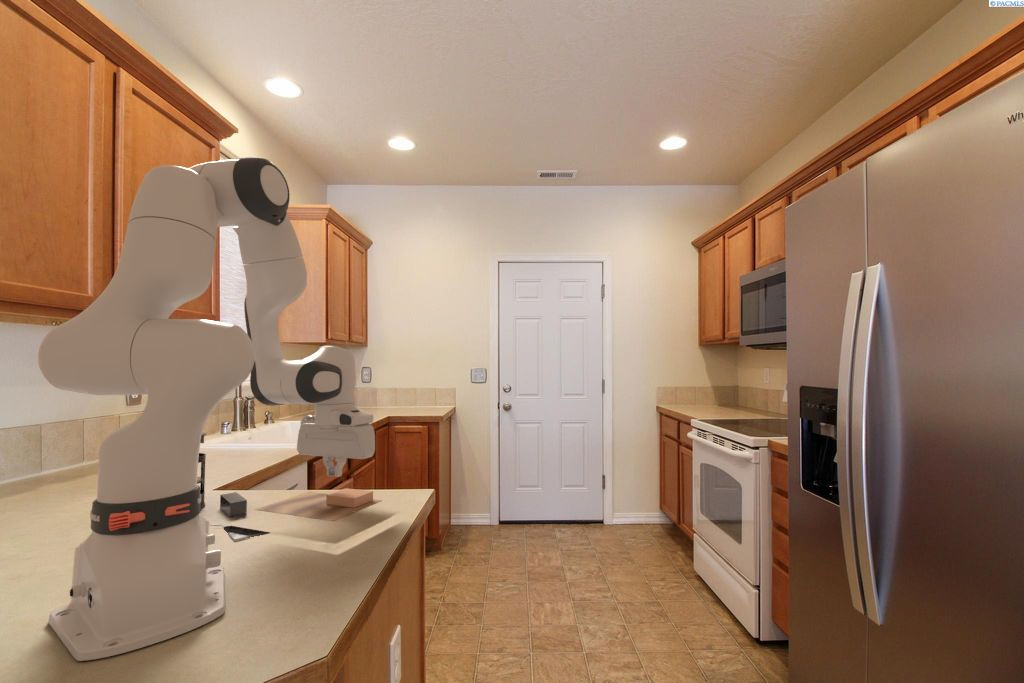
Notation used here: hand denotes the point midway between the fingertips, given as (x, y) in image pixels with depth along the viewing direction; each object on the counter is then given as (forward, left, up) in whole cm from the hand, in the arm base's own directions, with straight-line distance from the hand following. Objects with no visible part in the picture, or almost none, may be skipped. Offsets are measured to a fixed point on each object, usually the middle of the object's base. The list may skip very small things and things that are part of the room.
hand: (334, 476), depth 103 cm
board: (-1, +3, -7) cm, 8 cm away
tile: (0, 0, -4) cm, 4 cm away
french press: (+25, +25, -7) cm, 37 cm away
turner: (+3, +18, -7) cm, 20 cm away
